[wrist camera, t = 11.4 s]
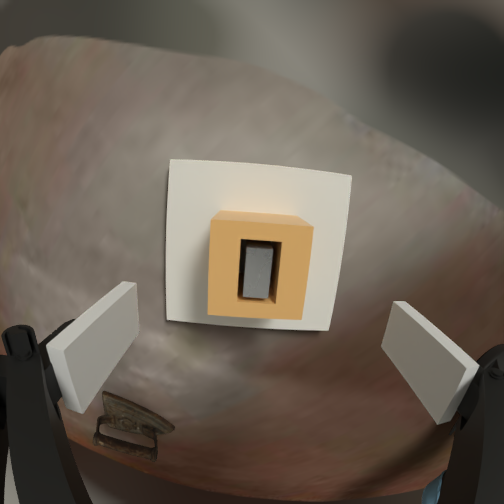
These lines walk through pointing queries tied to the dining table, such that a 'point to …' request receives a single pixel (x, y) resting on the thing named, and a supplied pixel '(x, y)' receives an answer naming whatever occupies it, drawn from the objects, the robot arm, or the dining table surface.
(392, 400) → the dining table surface
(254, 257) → the steel shaft
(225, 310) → the hollow tan cube
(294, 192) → the base plate
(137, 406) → the clothes iron
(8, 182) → the dining table surface
